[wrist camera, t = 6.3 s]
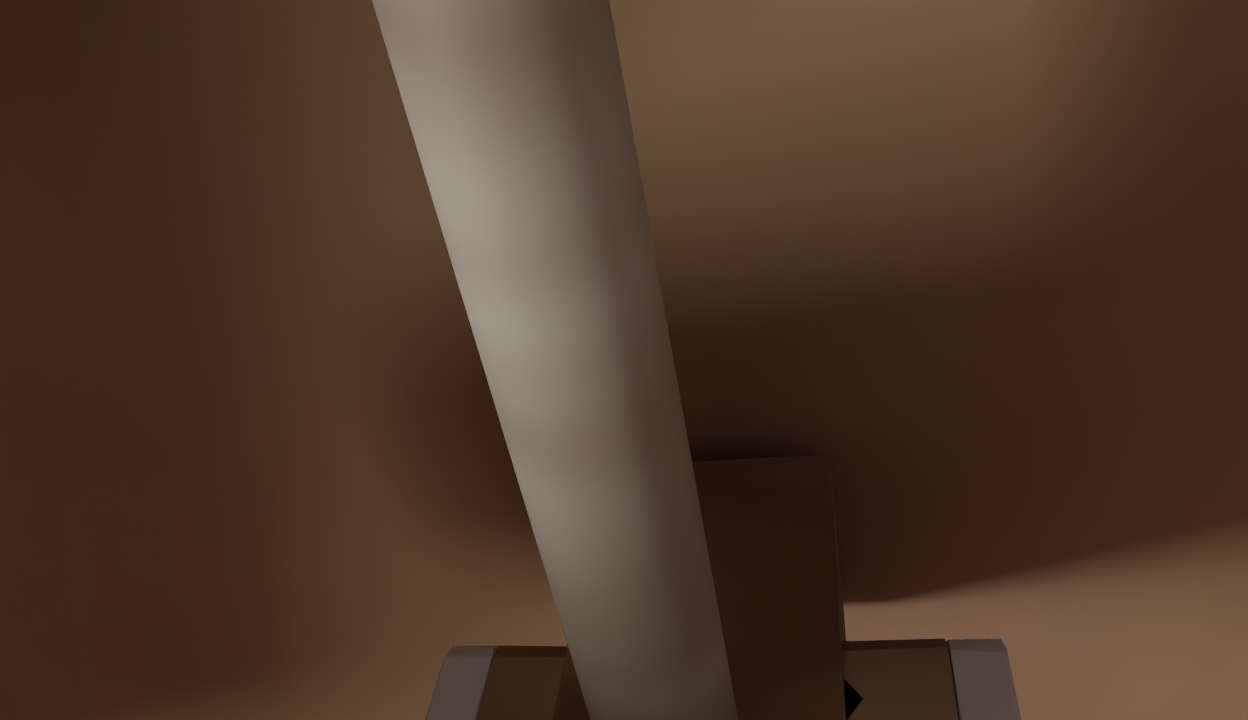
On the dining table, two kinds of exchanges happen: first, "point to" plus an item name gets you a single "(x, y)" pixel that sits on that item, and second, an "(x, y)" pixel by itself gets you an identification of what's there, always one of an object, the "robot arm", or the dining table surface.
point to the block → (609, 382)
